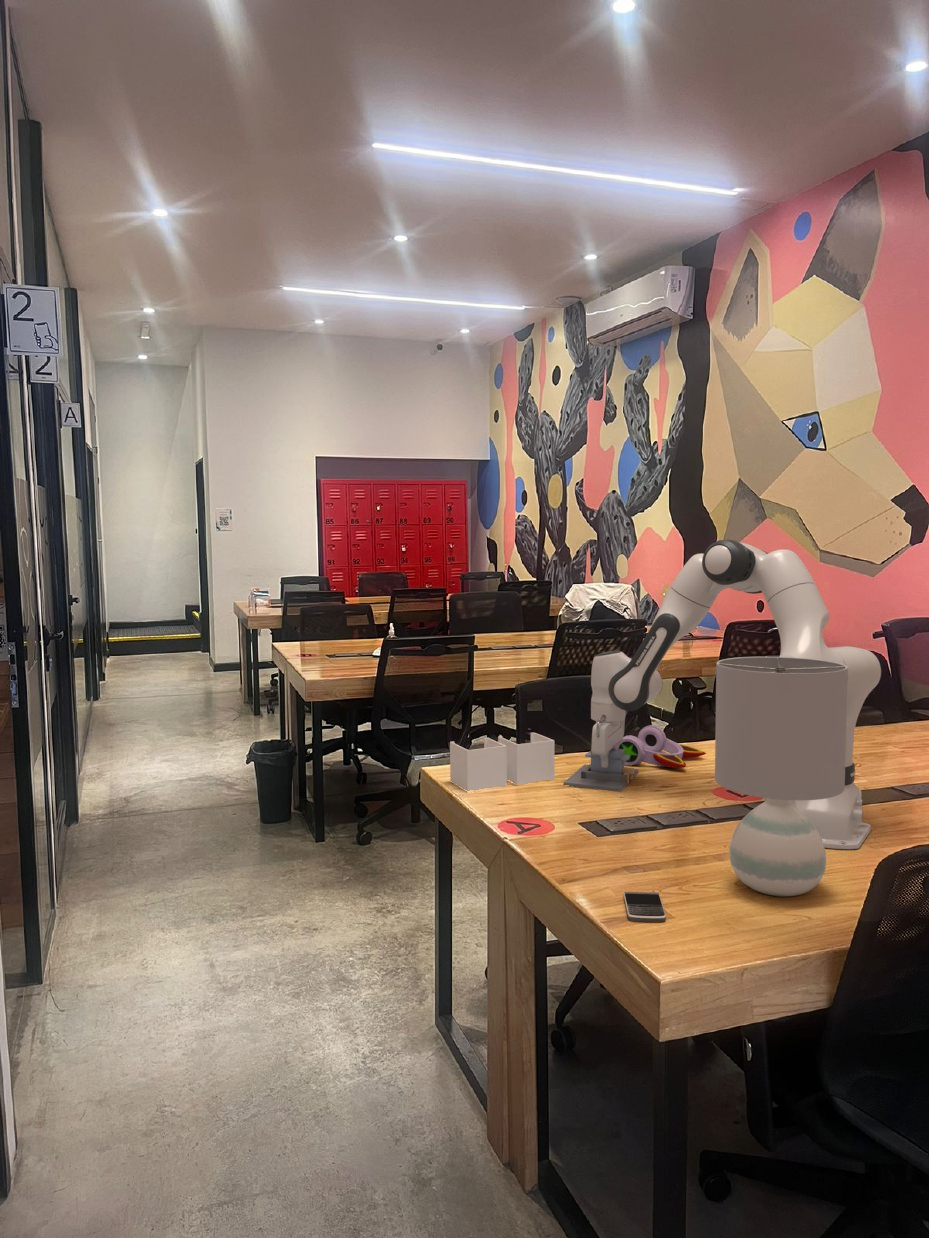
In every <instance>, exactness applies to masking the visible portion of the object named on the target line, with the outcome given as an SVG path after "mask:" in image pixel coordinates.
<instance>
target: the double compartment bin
mask: <svg viewBox="0 0 929 1238" xmlns="http://www.w3.org/2000/svg"><path fill="white" fill-rule="evenodd" d="M449 762H450V763H449V765H450V766H449V767H450V769H449V770H450V776H449V777H450V780H449V781H452V782H453V783H454V784H457V785H458V786H460V787H462V788H463V789H465V790H467V791H470V790H479V789H484V788H493V787H506V786H507V787H508V784H507V783H508V781H507V780H510V781H512V782H513V783H515V784H517V785H519V784H528V783H532V782H536V781H543V780H554V779H555V777H556V775H555V773H556V771H555V770H556V769H555V768H556V767H555V765H556V764H555V740H554V739H551V738H549V737H547V736H545V735H542V734H539V733H536V732H530V742H527V743H520V744H518V743H515V742H514V741H511V740H508V739H506V738H504V737H503V736H502V735H500V736H498V737H497V741H496V740H495V739H492V738H490V737H484V738H483V748H475V749H467V748H464V747H463V746H460V745H458V744H457V743H455V741H450V742H449ZM513 783H512V784H513ZM454 784H453V785H454Z"/></svg>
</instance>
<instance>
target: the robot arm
mask: <svg viewBox="0 0 929 1238" xmlns="http://www.w3.org/2000/svg"><path fill="white" fill-rule="evenodd" d="M726 589H731V590H733V591H737V592H743V593H747V594H753V595H754V594H763V596H764V599H765V602H766V604H767V607H768V608H769V611H770V613H771V615H772V616H771V617H772V618H773V621H774V623H775V626H776V628H777V630H778V634H779V639H780V652H779V653H780V654H779V656H778V657H795V658H809V659H818V660H826V661H832V662H837V663H841V664H844V665H846V666H847V667H848V679H847V716H846V754H845V789H844V791H843V792H842V793H841V794H839V795H837V796H834V797H831V798H825V799H818V800H791V804H792V805H793V806H795V807H796V808H797V809H798V810H800V811H801V812H802V813H803V814H804V815H805V816H806V817H807V818H808V819H809V820H810V822H811V823H812V824H813V825H814V827H815V828H816V830H817V831H818V833H819V835H820V837H821V839H822V842H823V845H824V848H825V849H826V848H827V849H835V850H857V849H859V848H860V847H861V846H862V845H863V843H864V842H865V840H866V838H867V837H868V835H869V834H870V833H871V831H872V826H871V824H869V823H867V822H864V821H863V820H864V810H863V809H862V807H864V806H863V805H864V800H863V799H862V790H861V789H860V788H859V787H858V786H857V785H856V783H855V779H856V776H855V775H856V769H855V768H856V767H855V766H856V765H855V763H854V762H853V761H854V760H853V758H854V744H855V743H854V741H855V730H856V724H857V722H858V717H859V715H860V712H861V709H862V707H863V704H864V703H865V700H866V699H867V697H868V696H869V694H870V693H872V691H873V690H874V689H875V688H876V687H877V685H878V684H879V682H880V680H881V677H882V668H881V663H880V661H879V659H878V657H877V656H876V655H875V654H874V653H873V652H871V651H870V650H868V649H866V648H865V649H864V648H861V647H855V646H847V645H845V646H835V647H828V646H827V645H826V642H825V639H824V632H823V631H824V629H826V627H827V625H828V623H829V621H830V612H829V609H828V608H827V606H826V604H825V601H824V599H823V597H822V595H821V593H820V590H819V589H818V586H817V585H816V582H815V580H814V578H813V576H812V575H811V573H810V571H809V570H808V568H807V567H806V565H805V563H804V562H803V561H802V559H801V558H800V557H799V555H798V554H797V553H796V552H795V551H792V550H790V549H786V548H785V549H781V548H780V549H777V550H773V551H770V552H767V551H764V550H761V549H760V548H757V547H756V546H753V545H751V544H749V543H744V542H742V541H741V542H740V541H737V540H733V539H720V540H716V541H714V542H713V543H711V544H710V545H709V546H708V547H707V548H706V550H705V551H704V552H703V553H696V554H694V555H692V556H691V557H690V558H689V559H688V561H687V562H686V563H685V564H684V566H682V568H681V569H680V570H679V572H678V574H676V576H675V578H674V579H673V581H672V582H671V585H670V586H669V588H668V590H667V592H666V594H665V596H664V598H663V600H662V602H661V604H660V607H659V610H658V611H657V614H656V615H655V618H654V620H653V622H652V624H651V627H650V629H648V632H647V633H646V635H645V637H644V639H642V642H641V643H640V645H639V646H638V648H637V650H636V651H635V653H634V655H633V656H632V658H631V657H629V656H627V654H625V653H624V652H623V651H621V650H610V651H605V652H601V653H598V654H596V655H595V656H594V657H593V660H592V664H591V672H590V673H591V675H590V686H591V691H592V694H591V698H590V699H591V700H590V719H591V720H593V721H595V724H594V725H593V726H592V732H591V750H592V753H593V754H595V755H600V758H601V766H602V767H605V768H607V767H608V766H609V759H608V755H609V751H610V750H611V749H612V748H614V749H616V745H617V744H618V743H619V742H620V741H621V740H622V739H623V737H625V736H624V735H625V724H626V723H625V722H626V715H627V714H628V712H635V711H638V710H639V709H640V708H641V707H644V706H645V705H646V704H647V703H649V702H650V701H653V699H655V698H656V697H657V696H659V695H660V694H661V692H662V689H663V678H662V675H661V674H660V672H659V670H658V667H659V666H660V665H661V663H662V661H663V659H664V657H665V656H666V655H667V653H668V651H669V650H670V648H672V647H673V645H675V644H676V643H677V642H678V641H679V640H680V639H682V638H684V637H685V636H687V635H688V634H690V633H691V632H693V631H694V630H695V629H696V628H697V627H698V626H699V625H700V624H701V622H702V621H703V620H704V618H705V617H706V616H707V615H708V614H709V611H710V610H711V608H712V606H713V605H714V603H715V601H716V599H717V597H718V596H719V594H720V593H721V592H722V591H723V590H726Z"/></svg>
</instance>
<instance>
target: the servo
mask: <svg viewBox="0 0 929 1238" xmlns="http://www.w3.org/2000/svg"><path fill="white" fill-rule="evenodd" d="M624 752H625V749H614V748H612V749H611V750H610V751H609V755H608V759H609V766H608V767H607V768H605V767H602V766H601V758H600V755H595V754H593V753H592V749H590V751H588V752H587V753H585V755H584V756H585V758H590V764H591V771H592V772H602V773H613V774H623V773H627V774H634V773H635V769H636V768H633V767H626V768H624V767H625V764H624V761H627V760H628V759H629V758H630V755H624Z"/></svg>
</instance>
